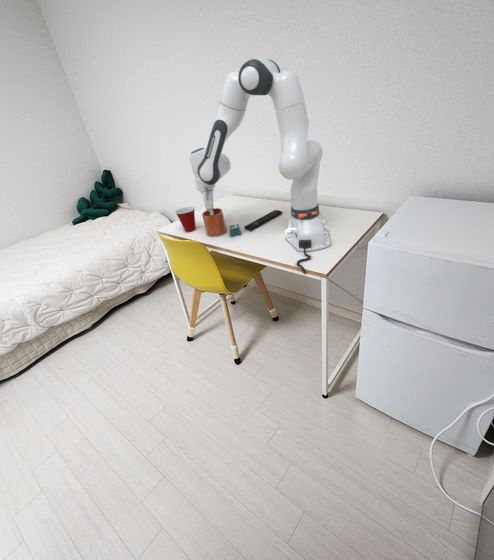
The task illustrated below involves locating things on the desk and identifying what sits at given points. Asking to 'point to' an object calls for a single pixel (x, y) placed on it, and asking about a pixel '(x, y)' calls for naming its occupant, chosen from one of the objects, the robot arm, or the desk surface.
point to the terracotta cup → (214, 222)
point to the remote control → (262, 220)
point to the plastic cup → (187, 218)
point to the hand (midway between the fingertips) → (212, 212)
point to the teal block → (234, 230)
